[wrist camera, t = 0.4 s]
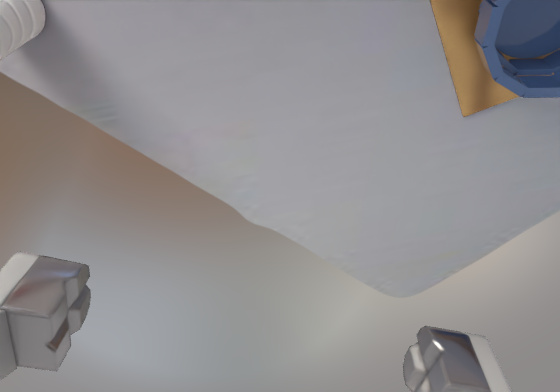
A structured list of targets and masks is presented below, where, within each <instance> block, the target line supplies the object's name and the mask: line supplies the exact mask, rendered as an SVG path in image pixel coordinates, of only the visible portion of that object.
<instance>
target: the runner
mask: <svg viewBox="0 0 560 392" xmlns="http://www.w3.org/2000/svg"><path fill="white" fill-rule="evenodd" d="M430 2H431V5H432V9H433V12H434V16H435V19H436V23H437V27H438V30H439V34H440V37H441V41H442V44H443V48H444V51H445V55H446V58H447V62H448V65H449V69H450V72H451V76H452V79H453V83H454V86H455V90H456V93H457V97H458V100H459V104H460V107H461V111H462V115H463V117H465V116H468V115H471V114H473V113H476V112H479V111H481V110H484V109H487V108H489V107H492V106H495V105H498V104H500V103H503V102H506V101H508V100H511V99H514V98H516V97H519V96H518V95H517V94H515V93H513V92H512V91H510V90H508V89H507V88H505V87H503V86H502V85H500V84H498V83H497V82H495V81H494V80H493V79H492V77H491V76H490V75H489V73H488V72H487V71H486V69H485V68H484V66H483V63H482V60H481V57H480V54H479V51H478V49H477V46H476V43H475V40H474V38H475V37H474V34H475V30H476V26H477V22H478V10H479V9H480V8H479V6H480V4H481V2H482V0H430ZM559 49H560V48H559ZM559 49H557V50H559ZM557 50H556V51H557ZM498 51H499V50H498ZM554 52H555V51H554ZM552 53H553V52H551V53H549V54H546V55H543V56H540V57H535V58H526V59H543V58H544V57H546V56H548V55H550V54H552ZM502 54H503V53H502ZM503 55H504V56H506V57H507V58H508V59H524V58H514V57H510V56H507V55H505V54H503ZM501 66H502V65H501ZM553 74H554V73H552V75H553ZM517 76H551V75H517Z"/></svg>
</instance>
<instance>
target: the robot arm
mask: <svg viewBox="0 0 560 392" xmlns="http://www.w3.org/2000/svg"><path fill="white" fill-rule="evenodd" d="M89 277H90V273H89V266H88V265H86V264H81V263H76V262H71V261H67V260H62V259H57V258H52V257H47V256H41V255H36V254H31V253H26V252H18V253H17V254H15V255H13V256H12V257H11V259H10V260H9V261H8V262H7V263H6V264H5V265H4V267H3V268H2V269H1V270H0V380H2V379H3V378H4V377H6V376H7V375H9V374H10V373H11V372H13V371H14V370H15V369H17V366H20V367H28V368H35V369H43V370H50V371H58V369H59V367H60V365H61V363H62V362H63V360H64V358H65V356H66V354H67V352H68V350H69V349H70V347H71V338H70V335H72V334H73V333H75V332H77V331H78V330H80V328H81V326H82V324H83V322H84V320H85V318H86V315H87V312H88V309H89V305H90V298H91V292H90V289H89V288H88V287H87V285H86V282H87V280H88V279H89ZM417 339H418V343H416V344H414V345H412V346H410V347H409V349H408V351H407V353H406V355H405V358H404V364H403V373H404V380H405V384H406V386H407V387H408V388H409V389H410V390H411V392H512V391H511V389H510V387H509V385H508V382H507V380H506V378H505V376H504V374H503V371H502V369H501V367H500V365H499V363H498V361H497V358H496V356H495V354H494V351H493V349H492V347H491V345H490V343H489V341H488V339H487V338H486V337H485V336H482V335H476V334H470V333H463V332H459V331H453V330H447V329H442V328H436V327H430V326H424V327H422V328H421V329H420V330H419V332H418V334H417Z"/></svg>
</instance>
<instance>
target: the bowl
mask: <svg viewBox="0 0 560 392" xmlns="http://www.w3.org/2000/svg"><path fill="white" fill-rule="evenodd" d="M479 8H480V9H479V10H478V22H477V26H476V30H475V34H474V37H475V38H474V40H475V43H476V46H477V49H478V51H479V54H480V57H481V60H482V63H483V66H484V68H485V69H486V71H487V72H488V73H489V75H490V76H491V77H492V79H493V80H494V81H495V82H497V83H498V84H500V85H502V86H503V87H505V88H507V89H508V90H510V91H512V92H513V93H515V94H517V95H518V96H520V97H522V96H523V98H540V97H560V49H559V48H560V0H482V2H481V4H480V6H479ZM557 49H559V50H557ZM498 50H499V51H498ZM556 50H557V51H556ZM554 51H555V52H554ZM551 52H553V53H552V54H550V55H548V56H546V57H544V58H543V59H526V58H535V57H540V56H543V55H546V54H549V53H551ZM502 53H503V54H505V55H507V56H510V57H514V58H524V59H508V58H507V57H506V56H504V55H503V54H502ZM501 65H502V66H501ZM552 73H554V74H553V75H552ZM517 75H551V76H517Z"/></svg>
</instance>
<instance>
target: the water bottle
mask: <svg viewBox="0 0 560 392" xmlns="http://www.w3.org/2000/svg"><path fill="white" fill-rule="evenodd" d="M45 17H46V14H45V9H44V6H43V3H42V2H41V1H40V0H0V60H1V59H2V58H4V57H6V56H7V55H9V54H10V53H12V52H13V51H14V50H15V49H17V48H19V47H21V46H22V45H23V44H25V43H26V42H28V41H29V40H31V39H32V38H34V37H36V36H37V35H38V34H39V33H40V32H41V31H42V30H43V28H44V25H45Z"/></svg>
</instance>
